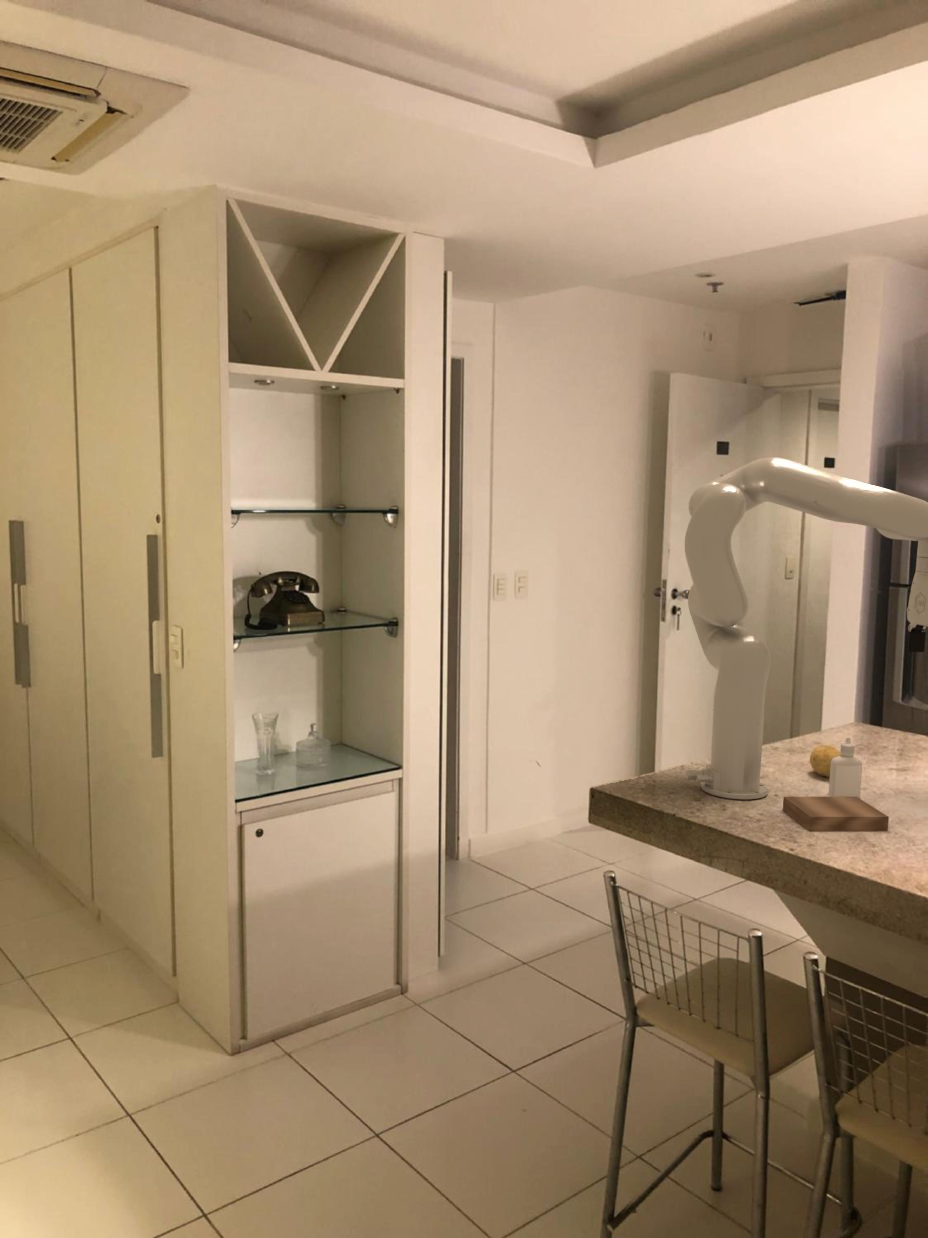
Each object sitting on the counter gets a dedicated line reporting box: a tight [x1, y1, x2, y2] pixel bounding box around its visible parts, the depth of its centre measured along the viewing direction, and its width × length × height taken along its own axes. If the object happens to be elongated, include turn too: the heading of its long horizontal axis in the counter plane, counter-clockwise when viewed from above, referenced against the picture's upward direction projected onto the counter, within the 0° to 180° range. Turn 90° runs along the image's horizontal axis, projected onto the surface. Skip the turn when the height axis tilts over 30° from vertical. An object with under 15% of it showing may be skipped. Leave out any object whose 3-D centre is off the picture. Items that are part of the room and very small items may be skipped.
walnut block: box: [782, 796, 889, 832], centre depth 183 cm, size 14×12×3 cm
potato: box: [809, 744, 841, 779], centre depth 214 cm, size 7×11×6 cm, turn 157°
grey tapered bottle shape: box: [828, 736, 863, 799], centre depth 196 cm, size 4×6×12 cm
